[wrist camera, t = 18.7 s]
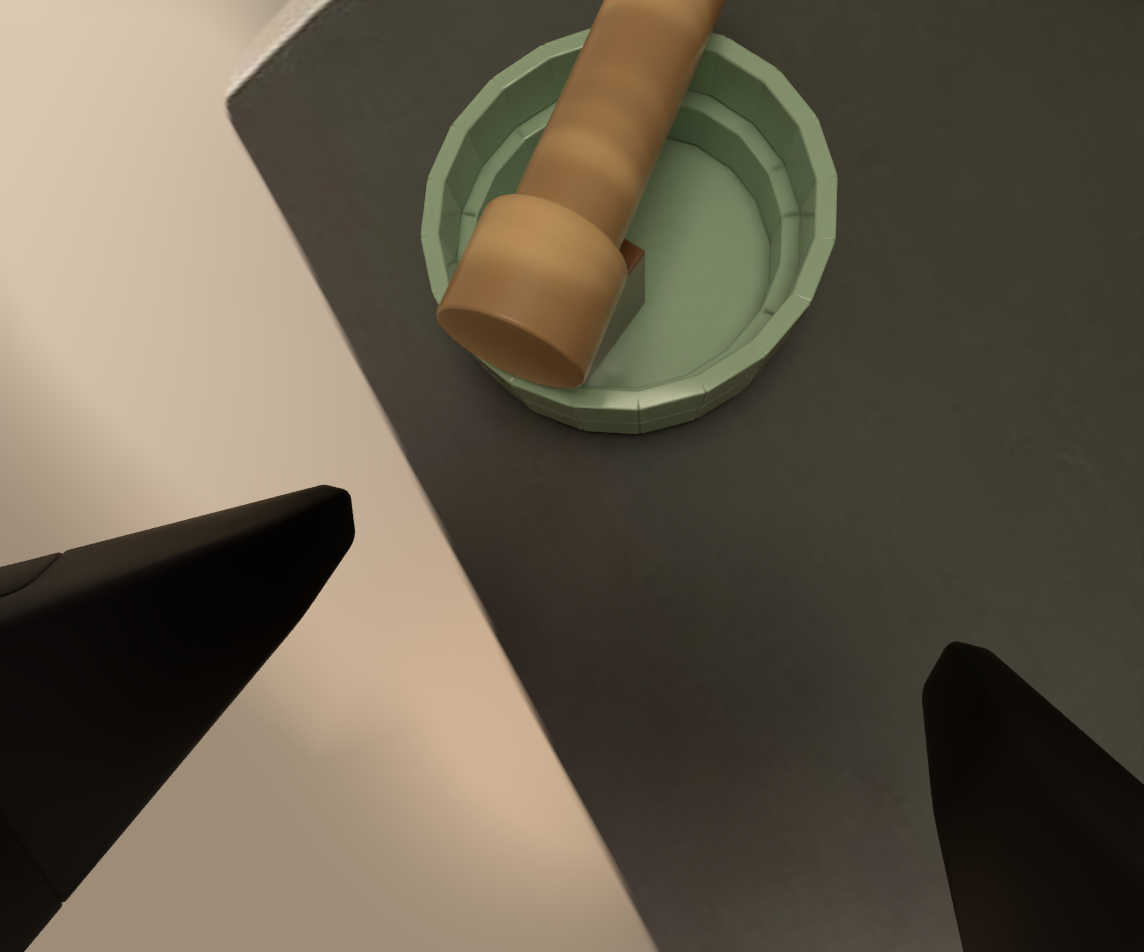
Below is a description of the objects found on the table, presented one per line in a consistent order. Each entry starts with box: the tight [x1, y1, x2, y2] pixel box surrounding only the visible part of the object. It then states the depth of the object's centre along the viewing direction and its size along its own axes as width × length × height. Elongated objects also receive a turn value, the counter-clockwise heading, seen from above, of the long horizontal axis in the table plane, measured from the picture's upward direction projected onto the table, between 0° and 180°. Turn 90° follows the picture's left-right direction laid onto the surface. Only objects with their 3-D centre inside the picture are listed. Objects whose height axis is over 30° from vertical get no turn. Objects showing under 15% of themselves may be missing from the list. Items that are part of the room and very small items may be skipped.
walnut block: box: [586, 238, 645, 381], centre depth 18 cm, size 4×4×4 cm
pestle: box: [436, 0, 726, 388], centre depth 15 cm, size 4×4×15 cm
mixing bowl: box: [421, 28, 837, 434], centre depth 19 cm, size 12×12×4 cm
